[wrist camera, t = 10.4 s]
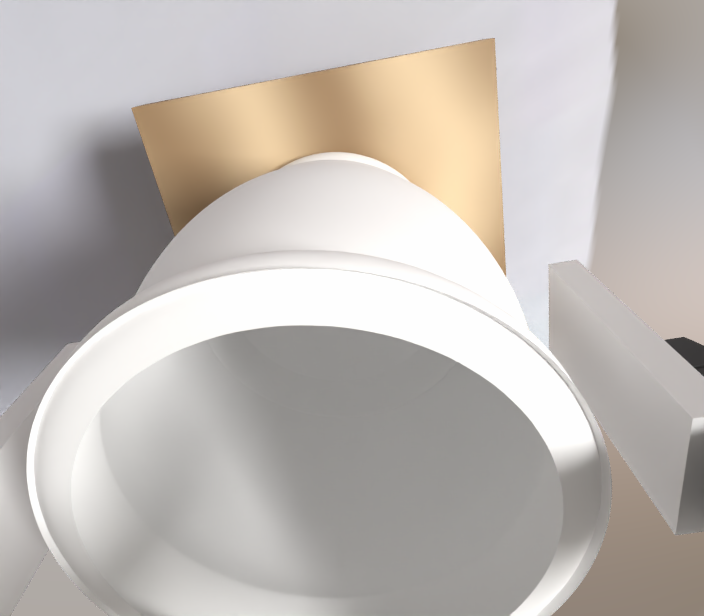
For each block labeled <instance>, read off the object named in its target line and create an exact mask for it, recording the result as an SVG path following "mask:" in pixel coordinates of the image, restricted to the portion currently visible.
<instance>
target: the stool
mask: <svg viewBox="0 0 704 616" xmlns="http://www.w3.org/2000/svg"><path fill="white" fill-rule="evenodd" d="M132 111H133V114H134V117H135V120H136V123H137V126H138V129H139V132H140V135H141V138H142V141H143V144H144V147H145V150H146V153H147V156H148V159H149V162H150V164H151V167H152V170H153V173H154V176H155V179H156V182H157V185H158V188H159V191H160V194H161V197H162V200H163V203H164V206H165V209H166V212H167V215H168V218H169V221H170V224H171V226H172V229H173V232H174V235H175V236H176V235H177V234H178V233H179V232H180V231H181V230H182V229H183V228H184V227H185V226H186V225H187V224H188V223H189V222H190V221H191V220H192V219H193V218H194V217H195V216H196V215H197V214H199V213H200V212H201V211H202V210H203V209H205V208H206V207H207V206H208V205H210V204H211V203H212V202H214V201H215V200H217V199H218V198H220V197H221V196H223V195H224V194H226V193H227V192H229V191H231V190H232V189H234V188H236V187H238V186H239V185H241V184H243V183H245V182H247V181H249V180H252V179H254V178H256V177H259V176H261V175H264V174H266V173H269V172H272V171H275V170H278V169H280V168H282V167H283V166H285V165H287V164H289V163H291V162H293V161H295V160H297V159H300V158H303V157H306V156H309V155H313V154H318V153H326V152H346V153H354V154H359V155H363V156H367V157H370V158H373V159H375V160H378V161H380V162H382V163H384V164H386V165H388V166H390V167H391V168H393V169H395V170H396V171H398V172H399V173H400V174H402V175H403V176H404V177H405V178H406V179H407V180H409V181H410V182H411V183H413V184H415V185H416V186H418V187H420V188H422V189H423V190H425V191H426V192H428V193H430V194H431V195H432V196H434V197H435V198H437V199H438V200H439V201H441V202H442V203H443V204H445V205H446V206H447V207H448V208H450V209H451V210H452V211H453V212H454V213H455V214H456V215H458V216H459V217H460V218H461V219H462V220H463V221H464V222H465V223H466V224H467V225H468V226H469V227H470V228H471V229H472V231H473V232H474V233H475V234H476V235H477V236H478V237H479V239H480V240H481V241H482V242H483V244H484V245H485V246H486V247H487V249H488V250H489V251H490V253H491V254H492V256H493V257H494V259H495V260H496V262H497V263H498V265H499V266H500V268H501V270H502V271H503V273H504V275H505V276H506V265H505V244H504V223H503V202H502V181H501V161H500V140H499V119H498V98H497V77H496V56H495V38H491V39H483V40H478V41H473V42H468V43H462V44H457V45H452V46H447V47H442V48H436V49H431V50H426V51H421V52H415V53H410V54H405V55H400V56H395V57H389V58H384V59H379V60H374V61H369V62H363V63H358V64H353V65H348V66H343V67H337V68H332V69H327V70H322V71H317V72H311V73H306V74H301V75H296V76H291V77H285V78H280V79H275V80H270V81H265V82H259V83H254V84H249V85H244V86H238V87H233V88H228V89H223V90H218V91H212V92H207V93H202V94H197V95H192V96H186V97H181V98H176V99H171V100H166V101H160V102H155V103H150V104H145V105H140V106H137V107H133V108H132Z"/></svg>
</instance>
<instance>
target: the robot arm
mask: <svg viewBox="0 0 704 616" xmlns="http://www.w3.org/2000/svg"><path fill="white" fill-rule="evenodd" d="M79 343H80V342H75V343H69V344H67V345H66V346H65V347H64V348H63V349H62V350H61V351H60V352H59V353H58V354H57V356H56V357H55V358H54V359H53V360H52V361H51V362H50V363H49V364H48V365H47V367H46V368H45V369H44V370H43V371H42V372H41V373H40V374H39V375H38V376H37V377H36V379H35V380H34V381H33V382H32V383H31V384H30V385H29V386H28V387H27V388H26V390H25V391H24V392H23V393H22V394H21V395H20V396H19V397H18V398H17V399H16V401H15V402H14V403H13V404H12V405H11V406H10V407H9V408H8V409H7V410H6V412H5V413H4V414H3V415H2V416H1V417H0V616H11V614H12V613H13V611H14V609H15V607H16V606H17V604H18V602H19V601H20V599H21V597H22V595H23V593H24V592H25V590H26V588H27V587H28V585H29V583H30V581H31V580H32V578H33V576H34V574H35V573H36V571H37V569H38V567H39V566H40V564H41V562H42V561H43V559H44V557H45V555H46V553H47V552H48V550H49V548H48V546H47V544H46V542H45V540H44V538H43V536H42V534H41V532H40V529H39V527H38V524H37V522H36V519H35V516H34V513H33V509H32V506H31V501H30V497H29V491H28V484H27V451H28V443H29V438H30V433H31V429H32V425H33V422H34V419H35V416H36V413H37V411H38V408H39V406H40V404H41V401H42V399H43V397H44V395H45V393H46V392H47V390H48V388H49V386H50V385H51V383H52V382H53V380H54V379H55V377H56V375H57V374H58V372H59V370H60V368H61V367H62V365H63V364H64V362H65V361H66V359H67V358H68V356H69V355H70V354H71V352H72V351H73V350H74V349H75V348H76V346H77V345H78V344H79ZM549 350H550V351H551V353H552V354H553V355H554V357H555V358H556V359H557V360H558V361H559V363H560V364H561V365H562V367H563V368H564V369H565V371H566V372H567V374H568V375H569V377H570V378H571V380H572V382H573V383H574V385H575V386H576V388H577V389H578V391H579V392H580V393H581V395H582V396H583V398H584V400H585V401H586V403H587V404H588V406H589V408H590V410H591V411H592V413H593V415H594V416H595V418H596V419H597V420H598V422H599V423H600V425H601V426H602V428H603V429H604V431H605V432H606V434H607V435H608V437H609V438H610V439H611V441H612V443H613V444H614V446H615V447H616V448H617V450H618V451H619V453H620V454H621V456H622V457H623V459H624V460H625V462H626V463H627V465H628V466H629V468H630V469H631V471H632V472H633V473H634V475H635V477H636V478H637V479H638V481H639V482H640V484H641V485H642V487H643V488H644V490H645V491H646V493H647V494H648V496H649V497H650V499H651V500H652V501H653V503H654V504H655V506H656V508H657V509H658V510H659V512H660V513H661V515H662V516H663V518H664V519H665V521H666V522H667V524H668V525H669V527H670V528H671V530H672V531H673V533H674V534H675V535H681V534H688V533H695V532H703V531H704V346H703V345H701V344H699V343H697V342H694V341H692V340H690V339H687V338H685V337H681V338H674V339H668V340H663V339H662V338H661V337H660V336H659V335H658V334H657V333H656V332H655V331H654V330H652V329H651V328H650V327H649V326H648V325H647V324H646V323H645V322H644V321H643V320H642V319H641V318H640V317H638V316H637V315H636V314H635V313H634V312H633V311H632V310H631V309H630V308H629V307H628V306H627V305H625V304H624V303H623V302H622V301H621V300H620V299H619V298H618V297H617V296H616V295H614V293H612V292H611V291H610V290H609V289H608V288H607V287H606V286H605V285H604V284H603V283H601V282H600V281H599V280H598V279H597V278H596V277H595V276H594V275H593V274H592V273H591V272H590V271H589V270H587V269H586V268H585V267H584V266H583V265H582V264H581V263H580V262H579V261H578V260H572V261H566V262H560V263H554V264H549Z"/></svg>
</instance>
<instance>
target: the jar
mask: <svg viewBox="0 0 704 616" xmlns="http://www.w3.org/2000/svg"><path fill="white" fill-rule="evenodd" d="M27 484H28V491H29V497H30V501H31V506H32V509H33V513H34V516H35V519H36V522H37V524H38V527H39V529H40V532H41V534H42V536H43V538H44V540H45V542H46V544H47V546H48V548H49V549H50V551H51V553H52V554H53V556H54V558H55V559H56V561H57V562H58V564H59V565H60V567H61V568H62V569H63V571H64V572H65V573H66V575H67V576H68V577H69V578H70V579H71V581H72V582H73V583H74V584H75V585H76V586H77V587H78V588H79V590H80V591H81V592H82V593H83V594H84V595H85V596H86V597H88V599H89V600H91V602H93V603H94V604H95V605H96V606H97V607H98V608H99V609H101V610H102V611H103V612H104V613H105V614H107V615H108V616H551V615H552V614H553V613H554V612H555V611H556V610H557V609H558V608H559V607H560V606H561V605H562V604H563V603H564V602H565V601H566V600H567V599H568V598H569V597H570V596H571V594H572V593H573V592H574V591H575V589H576V588H577V587H578V586H579V584H580V583H581V582H582V580H583V579H584V577H585V576H586V574H587V572H588V571H589V569H590V567H591V566H592V564H593V562H594V560H595V558H596V556H597V554H598V552H599V549H600V547H601V544H602V542H603V539H604V536H605V533H606V529H607V526H608V521H609V516H610V510H611V509H610V508H611V500H612V479H611V469H610V463H609V457H608V453H607V449H606V445H605V442H604V439H603V436H602V433H601V431H600V428H599V426H598V424H597V422H596V419H595V417H594V415H593V413H592V411H591V410H590V408H589V406H588V404H587V403H586V401H585V400H584V398H583V396H582V395H581V393H580V392H579V391H578V389H577V388H576V386H575V385H574V383H573V382H572V380H571V378H570V377H569V375H568V374H567V372H566V371H565V369H564V368H563V367H562V365H561V364H560V363H559V361H558V360H557V359H556V358H555V357H554V355H553V354H552V353H551V352H550V351H549V350H548V349H547V348H546V347H545V345H544V344H543V343H542V342H541V341H540V340H539V339H538V338H537V337H536V336H535V335H534V334H533V333H532V332H531V331H530V330H529V327H528V325H527V322H526V319H525V317H524V314H523V312H522V309H521V307H520V304H519V302H518V300H517V298H516V296H515V294H514V291H513V289H512V287H511V286H510V284H509V282H508V280H507V278H506V276H505V275H504V273H503V271H502V270H501V268H500V266H499V265H498V263H497V262H496V260H495V259H494V257H493V256H492V254H491V253H490V251H489V250H488V249H487V247H486V246H485V245H484V244H483V242H482V241H481V240H480V239H479V237H478V236H477V235H476V234H475V233H474V232H473V231H472V229H471V228H470V227H469V226H468V225H467V224H466V223H465V222H464V221H463V220H462V219H461V218H460V217H459V216H458V215H456V214H455V213H454V212H453V211H452V210H451V209H450V208H448V207H447V206H446V205H445V204H443V203H442V202H441V201H439V200H438V199H437V198H435V197H434V196H432V195H431V194H430V193H428V192H426V191H425V190H423V189H422V188H420V187H418V186H416V185H415V184H413V183H411V182H410V181H409V180H407V179H406V178H405V177H404V176H403V175H402V174H400V173H399V172H398V171H396V170H395V169H393V168H391V167H390V166H388V165H386V164H384V163H382V162H380V161H378V160H375V159H373V158H370V157H367V156H363V155H359V154H354V153H346V152H326V153H318V154H313V155H309V156H306V157H303V158H300V159H297V160H295V161H293V162H291V163H289V164H287V165H285V166H283V167H282V168H280V169H278V170H275V171H272V172H269V173H266V174H264V175H261V176H259V177H256V178H254V179H252V180H249V181H247V182H245V183H243V184H241V185H239V186H238V187H236V188H234V189H232V190H231V191H229V192H227V193H226V194H224V195H223V196H221V197H220V198H218V199H217V200H215V201H214V202H212V203H211V204H210V205H208V206H207V207H206V208H205V209H203V210H202V211H201V212H200V213H199V214H197V215H196V216H195V217H194V218H193V219H192V220H191V221H190V222H189V223H188V224H187V225H186V226H185V227H184V228H183V229H182V230H181V231H180V232H179V233H178V234H177V235H176V236H175V237H174V239H173V240H172V241H171V242H170V243H169V244H168V246H167V247H166V248H165V249H164V251H163V252H162V253H161V255H160V256H159V257H158V259H157V260H156V262H155V263H154V264H153V266H152V267H151V269H150V270H149V272H148V274H147V275H146V277H145V278H144V280H143V282H142V283H141V285H140V287H139V289H138V290H137V292H136V294H135V296H134V297H133V298H131V299H129V300H128V301H126V302H125V303H124V304H122V305H121V306H119V307H118V308H116V309H115V310H114V311H112V312H111V313H110V314H109V315H107V316H106V317H105V318H104V319H103V320H101V321H100V322H99V323H98V324H97V325H96V326H95V327H94V328H93V329H92V330H91V331H90V332H89V333H88V334H87V335H86V336H85V337H84V338H83V340H82V341H81V342H80V343H79V344H78V345H77V346H76V348H75V349H74V350H73V351H72V352H71V354H70V355H69V356H68V358H67V359H66V361H65V362H64V364H63V365H62V367H61V368H60V370H59V372H58V374H57V375H56V377H55V379H54V380H53V382H52V383H51V385H50V386H49V388H48V390H47V392H46V393H45V395H44V397H43V399H42V401H41V404H40V406H39V408H38V411H37V413H36V416H35V419H34V422H33V425H32V429H31V433H30V438H29V443H28V451H27Z"/></svg>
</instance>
